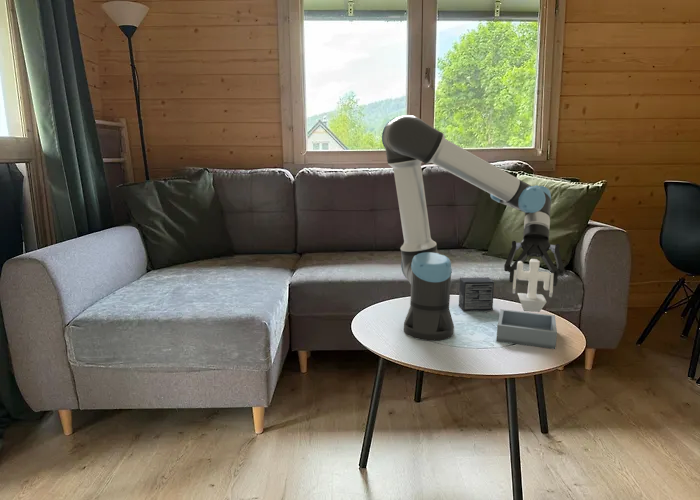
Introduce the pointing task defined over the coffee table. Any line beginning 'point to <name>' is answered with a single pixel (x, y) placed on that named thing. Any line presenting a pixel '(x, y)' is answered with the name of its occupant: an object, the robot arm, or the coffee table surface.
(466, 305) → the small box
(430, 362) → the coffee table surface
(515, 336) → the tray
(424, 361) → the coffee table surface
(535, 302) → the figurine
